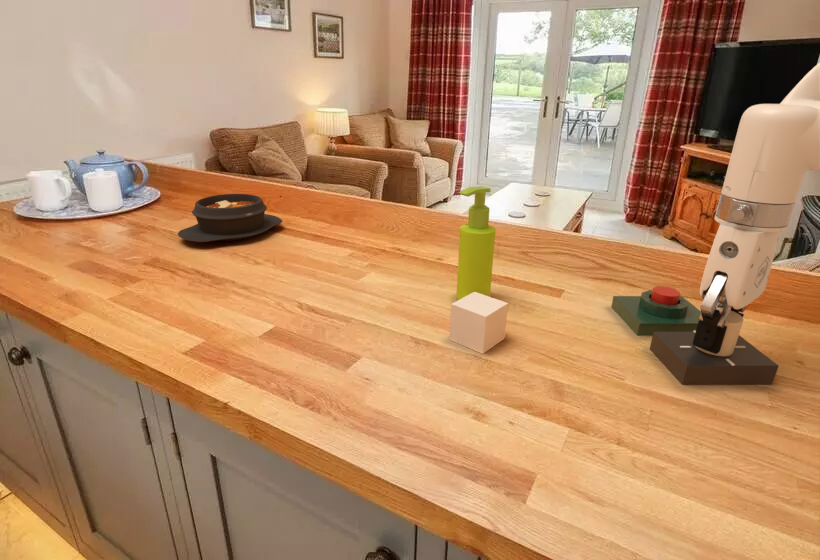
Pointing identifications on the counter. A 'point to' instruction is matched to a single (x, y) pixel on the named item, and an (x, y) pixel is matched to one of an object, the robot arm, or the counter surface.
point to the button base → (655, 314)
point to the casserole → (229, 218)
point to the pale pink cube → (478, 321)
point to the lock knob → (729, 334)
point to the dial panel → (712, 362)
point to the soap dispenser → (476, 247)
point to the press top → (665, 295)
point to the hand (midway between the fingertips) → (714, 341)
